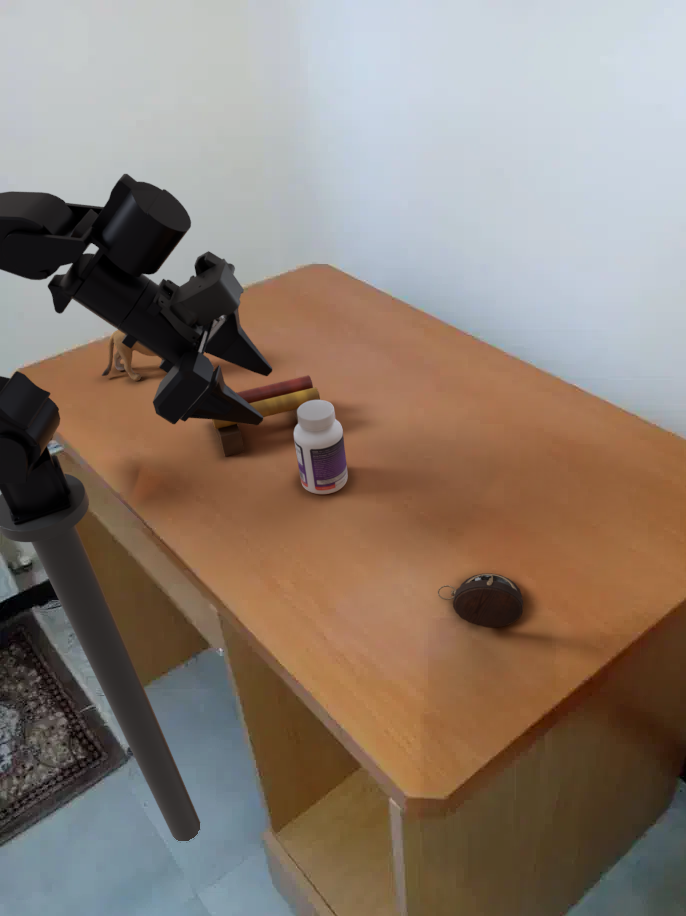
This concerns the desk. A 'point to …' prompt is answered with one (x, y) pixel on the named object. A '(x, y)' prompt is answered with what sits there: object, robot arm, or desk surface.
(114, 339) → the lion figurine
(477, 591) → the brown coin purse
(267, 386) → the rod rack
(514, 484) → the desk surface
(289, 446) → the desk surface
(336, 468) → the pill bottle
